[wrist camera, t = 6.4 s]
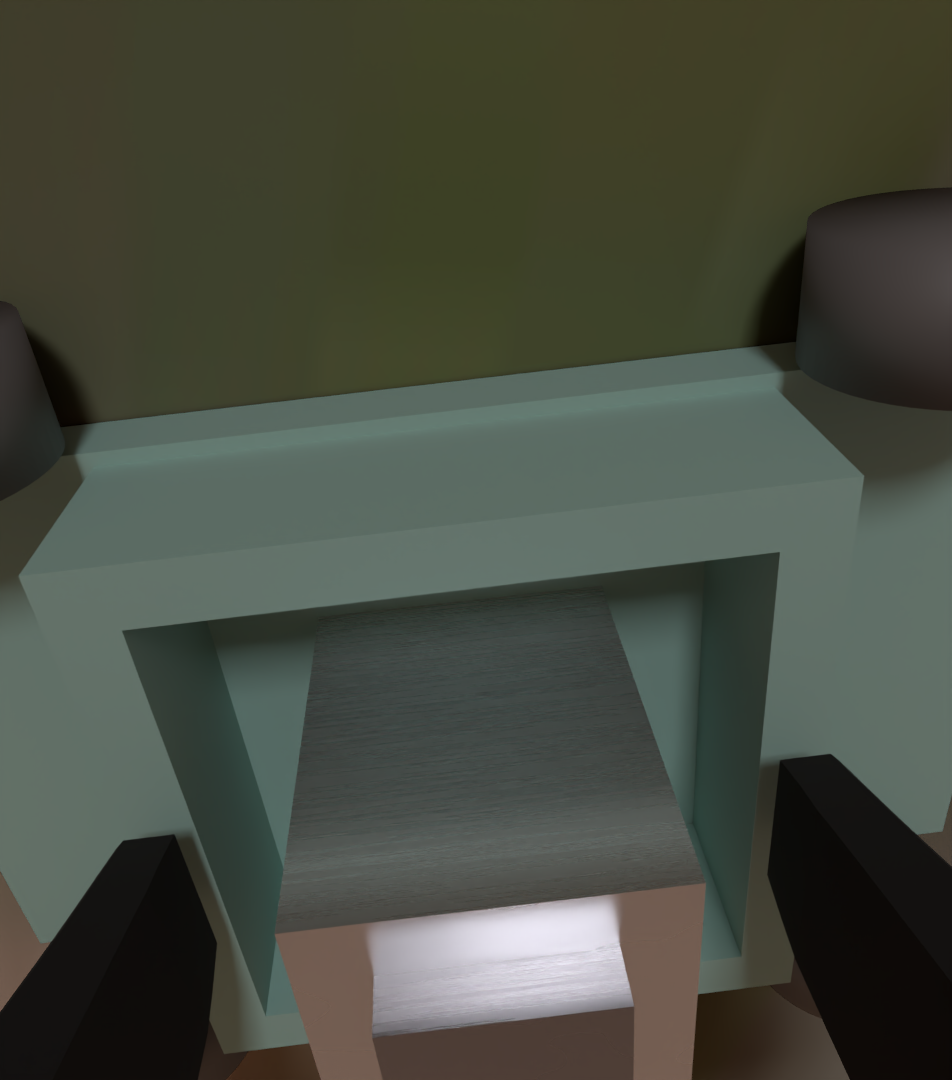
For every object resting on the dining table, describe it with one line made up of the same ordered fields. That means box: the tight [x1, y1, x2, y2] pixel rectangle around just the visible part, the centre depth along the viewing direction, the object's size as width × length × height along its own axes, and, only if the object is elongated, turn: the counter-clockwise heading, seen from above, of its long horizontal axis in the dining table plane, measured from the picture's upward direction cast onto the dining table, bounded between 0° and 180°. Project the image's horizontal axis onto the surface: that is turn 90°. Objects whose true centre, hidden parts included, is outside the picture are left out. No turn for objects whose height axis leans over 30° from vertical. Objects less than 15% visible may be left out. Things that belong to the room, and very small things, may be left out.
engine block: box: [274, 586, 706, 1080], centre depth 11 cm, size 4×4×6 cm
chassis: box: [0, 188, 952, 1080], centre depth 13 cm, size 16×13×4 cm
